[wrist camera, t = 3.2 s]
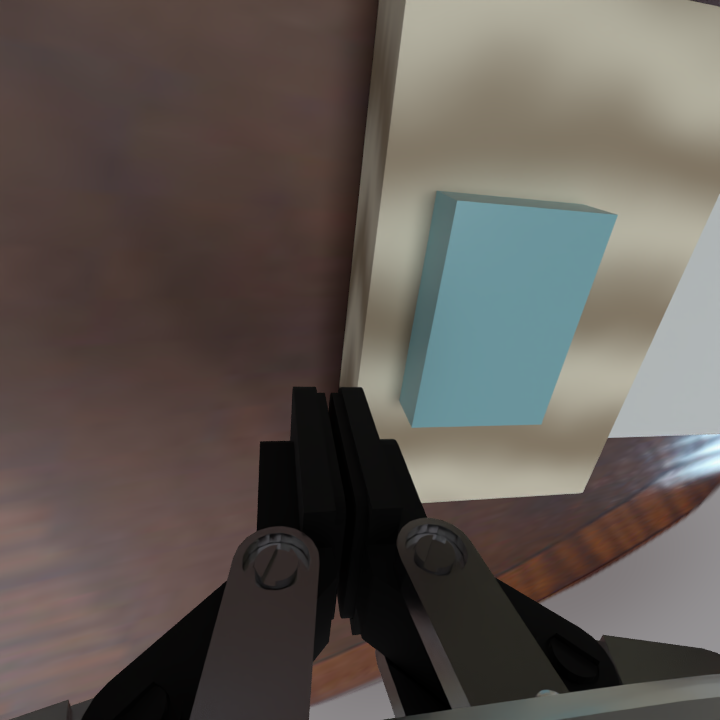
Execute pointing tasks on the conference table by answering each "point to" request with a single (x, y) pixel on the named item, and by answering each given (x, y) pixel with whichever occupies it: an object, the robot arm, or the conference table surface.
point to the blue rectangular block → (498, 307)
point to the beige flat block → (537, 182)
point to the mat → (682, 354)
